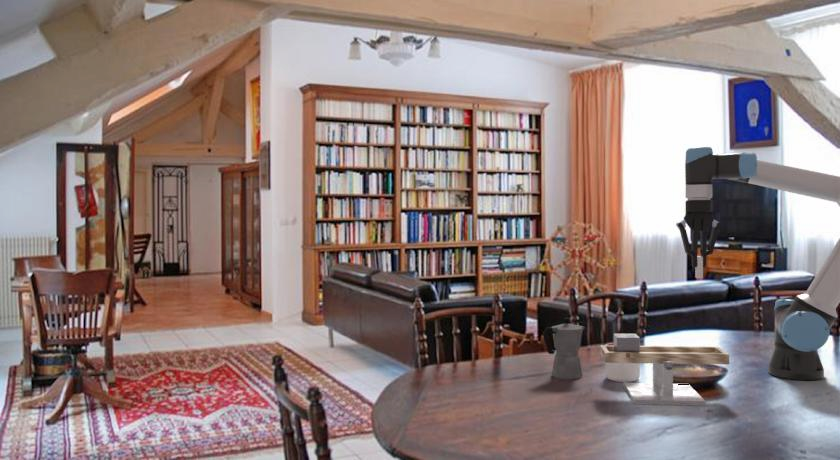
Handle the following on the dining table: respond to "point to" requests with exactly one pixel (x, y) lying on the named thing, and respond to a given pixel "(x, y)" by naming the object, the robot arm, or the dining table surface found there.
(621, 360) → the beam
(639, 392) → the stand
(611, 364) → the cup
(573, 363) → the coffeepot
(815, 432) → the dining table surface
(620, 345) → the block
